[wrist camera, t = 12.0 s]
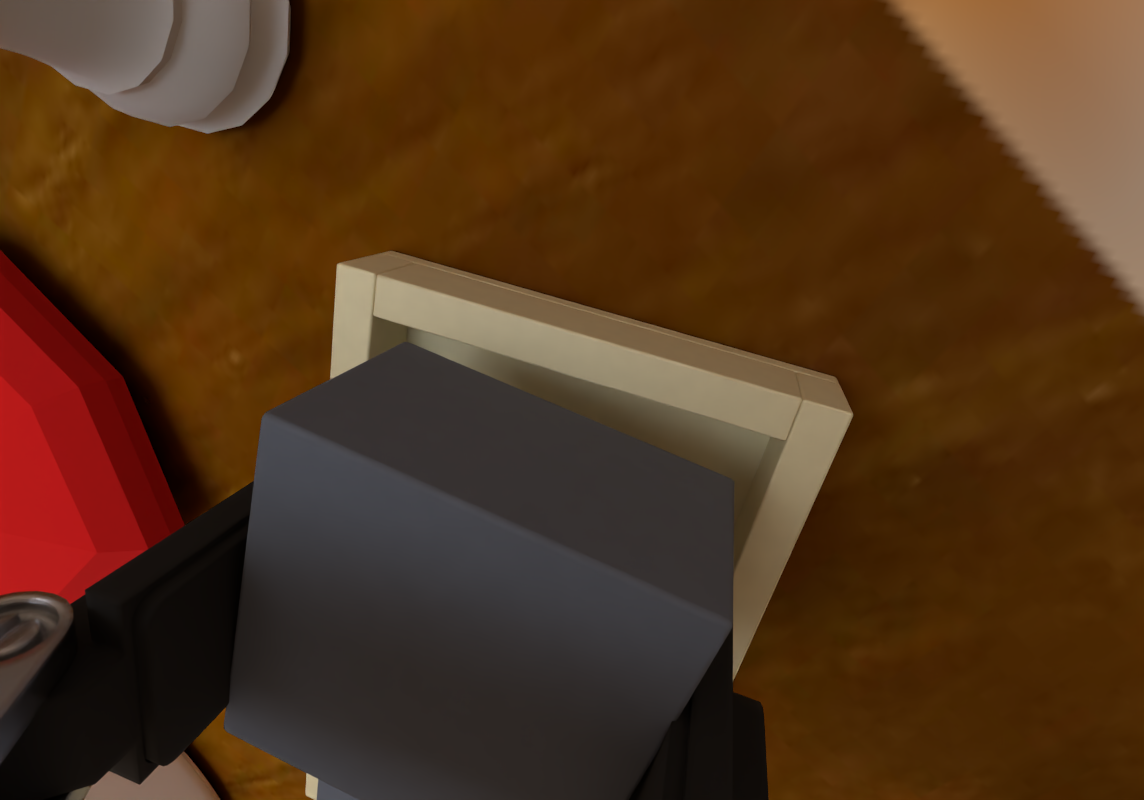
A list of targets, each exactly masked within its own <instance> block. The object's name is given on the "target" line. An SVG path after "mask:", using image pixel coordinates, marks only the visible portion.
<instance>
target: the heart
mask: <svg viewBox="0 0 1144 800" xmlns="http://www.w3.org/2000/svg"><path fill="white" fill-rule="evenodd" d="M183 526H185V525H184V522H183V520H182V517H181V515H180V513H179V510H178V508H177V505H176V503H175V500H174V498H173V496H172V493H171V491H170V488H169V486H168V484H167V481H166V479H165V476H164V474H163V472H162V469H161V467H160V464H159V462H158V460H157V457H156V455H155V452H154V450H153V448H152V445H151V443H150V440H149V438H148V436H147V433H146V431H145V428H144V426H143V424H142V421H141V419H140V416H139V414H138V412H137V409H136V407H135V404H134V402H133V400H132V397H131V395H130V392H129V390H128V388H127V385H126V383H125V380H124V378H123V376H122V375H121V374H120V373H119V372H118V371H117V370H116V369H115V368H114V367H113V366H112V365H111V364H110V363H109V362H108V361H107V360H106V359H105V358H104V357H103V356H102V355H101V354H100V353H99V352H98V350H97V349H96V348H95V347H94V346H93V345H92V344H91V343H90V342H89V341H88V340H87V339H86V338H85V337H84V336H83V335H82V334H81V333H80V332H79V331H78V330H77V329H76V328H75V327H74V326H73V325H72V324H71V323H70V322H69V320H68V319H67V318H66V317H65V316H64V315H63V314H62V313H61V312H60V311H59V310H58V309H57V308H56V307H55V306H54V305H53V304H52V303H51V302H50V301H49V300H48V299H47V298H46V297H45V296H44V295H43V294H42V293H41V292H40V291H39V289H38V288H37V287H36V286H35V285H34V284H33V283H32V282H31V281H30V280H29V279H28V278H27V277H26V276H25V275H24V274H23V273H22V272H21V271H20V270H19V269H18V268H17V267H16V266H15V265H14V264H13V263H12V262H11V261H10V260H9V258H8V257H7V256H6V255H5V254H4V253H3V252H2V251H1V250H0V595H3V594H8V593H13V592H22V591H42V592H48V593H54V594H56V595H58V596H61V597H63V598H65V599H67V601H68V602H69V604H71V603H73V602H74V601H76V600H77V599H79V598H80V597H82V596H83V595H85V589H87V588H89V587H90V586H92V585H93V584H95V583H96V582H98V581H99V580H101V579H103V578H104V577H106V576H107V575H109V574H110V573H112V572H113V571H115V570H116V569H118V568H120V567H121V566H123V565H124V564H126V563H127V562H129V561H130V560H132V559H134V558H135V557H137V556H138V555H140V554H141V553H143V552H144V551H146V550H148V549H149V548H151V547H152V546H154V545H155V544H157V543H158V542H160V541H162V540H163V539H165V538H166V537H168V536H169V535H171V534H172V533H174V532H176V531H177V530H179V529H180V528H182V527H183Z"/></svg>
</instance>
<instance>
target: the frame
mask: <svg viewBox="0 0 1144 800" xmlns="http://www.w3.org/2000/svg"><path fill="white" fill-rule="evenodd" d="M403 342H409V343H412V344H414V345H417V346H419V347H421V348H424V349H426V350H428V351H431V352H433V353H436V354H438V355H440V356H443V357H445V358H447V359H450V360H452V361H454V362H457V363H459V364H462V365H464V366H466V367H469V368H471V369H473V370H476V371H478V372H480V373H483V374H485V375H488V376H490V377H492V378H495V379H497V380H499V381H502V382H504V383H506V384H509V385H511V386H514V387H516V388H518V389H521V390H523V391H525V392H528V393H530V394H532V395H535V396H537V397H540V398H542V399H544V400H547V401H549V402H551V403H554V404H556V405H558V406H561V407H563V408H566V409H568V410H570V411H573V412H575V413H577V414H580V415H582V416H584V417H587V418H589V419H592V420H594V421H596V422H599V423H601V424H603V425H606V426H608V427H611V428H613V429H615V430H618V431H620V432H622V433H625V434H627V435H629V436H632V437H634V438H637V439H639V440H641V441H644V442H646V443H648V444H651V445H653V446H655V447H658V448H660V449H663V450H665V451H667V452H670V453H672V454H674V455H677V456H679V457H681V458H684V459H686V460H689V461H691V462H693V463H696V464H698V465H700V466H703V467H705V468H707V469H710V470H712V471H715V472H717V473H719V474H722V475H724V476H726V477H729V478H731V479H732V480H733V481H734V576H733V680H734V678H735V676H736V674H737V672H738V669H739V667H740V665H741V663H742V661H743V658H744V656H745V654H746V652H747V649H748V647H749V645H750V643H751V641H752V638H753V636H754V634H755V632H756V630H757V627H758V625H759V623H760V621H761V619H762V616H763V614H764V612H765V610H766V607H767V605H768V603H769V601H770V599H771V596H772V594H773V592H774V590H775V588H776V585H777V583H778V581H779V579H780V577H781V574H782V572H783V570H784V568H785V565H786V563H787V561H788V559H789V557H790V554H791V552H792V550H793V548H794V546H795V543H796V541H797V539H798V537H799V534H800V532H801V530H802V528H803V526H804V523H805V521H806V519H807V517H808V515H809V512H810V510H811V508H812V506H813V504H814V501H815V499H816V497H817V495H818V492H819V490H820V488H821V486H822V484H823V481H824V479H825V477H826V475H827V473H828V470H829V468H830V466H831V464H832V461H833V459H834V457H835V455H836V453H837V450H838V448H839V446H840V444H841V442H842V439H843V437H844V435H845V433H846V431H847V428H848V426H849V424H850V422H851V419H852V417H853V412H852V410H851V408H850V406H849V404H848V402H847V399H846V397H845V395H844V393H843V391H842V389H841V386H840V385H839V382H838V380H837V378H836V377H834V376H830V375H827V374H823V373H820V372H816V371H813V370H809V369H806V368H802V367H799V366H795V365H792V364H788V363H785V362H781V361H778V360H774V359H771V358H767V357H764V356H760V355H757V354H753V353H750V352H746V351H743V350H739V349H736V348H732V347H729V346H725V345H721V344H718V343H714V342H711V341H707V340H704V339H700V338H697V337H693V336H690V335H686V334H683V333H679V332H676V331H672V330H669V329H665V328H662V327H658V326H655V325H651V324H648V323H644V322H641V321H637V320H634V319H630V318H627V317H623V316H620V315H616V314H613V313H609V312H606V311H602V310H599V309H595V308H591V307H588V306H584V305H581V304H577V303H574V302H570V301H567V300H563V299H560V298H556V297H553V296H549V295H546V294H542V293H539V292H535V291H532V290H528V289H525V288H521V287H518V286H514V285H511V284H507V283H504V282H500V281H497V280H493V279H490V278H486V277H483V276H479V275H476V274H472V273H468V272H465V271H461V270H458V269H454V268H451V267H447V266H444V265H440V264H437V263H433V262H430V261H426V260H423V259H419V258H416V257H412V256H409V255H405V254H402V253H398V252H395V251H388V252H383V253H380V254H376V255H371V256H367V257H363V258H358V259H354V260H350V261H345V262H341V263H338V264H337V273H336V290H335V306H334V323H333V340H332V357H331V374H330V379H332V378H334V377H336V376H338V375H340V374H342V373H344V372H346V371H348V370H350V369H352V368H354V367H356V366H358V365H360V364H362V363H363V362H365V361H367V360H369V359H371V358H373V357H375V356H377V355H379V354H381V353H383V352H385V351H387V350H389V349H391V348H393V347H395V346H397V345H399V344H401V343H403ZM317 787H318V779H317V778H315V777H313V776H311V775H309V774H308V773H307V776H306V793H305V794H306V796H308V797H310V798H313V799H315V800H317Z"/></svg>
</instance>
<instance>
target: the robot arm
mask: <svg viewBox="0 0 1144 800" xmlns="http://www.w3.org/2000/svg"><path fill="white" fill-rule="evenodd" d="M253 486H254V481H253V482H252V483H250V484H249V485H247V486H245V487H244V488H242V489H241V490H239V491H238V492H236V493H235V494H233V495H231V496H230V497H228V498H227V499H225V500H224V501H222V502H221V503H219V504H217V505H216V506H214V507H213V508H211V509H210V510H208V511H207V512H205V513H203V514H202V515H200V516H199V517H197V518H196V519H194V520H193V521H191V522H189V523H188V524H186V525H185V526H183V527H182V528H180V529H179V530H177V531H176V532H174V533H172V534H171V535H169V536H168V537H166V538H165V539H163V540H162V541H160V542H158V543H157V544H155V545H154V546H152V547H151V548H149V549H148V550H146V551H144V552H143V553H141V554H140V555H138V556H137V557H135V558H134V559H132V560H130V561H129V562H127V563H126V564H124V565H123V566H121V567H120V568H118V569H116V570H115V571H113V572H112V573H110V574H109V575H107V576H106V577H104V578H103V579H101V580H99V581H98V582H96V583H95V584H93V585H92V586H90V587H89V588H87V589H85V595H83V596H82V597H80V598H79V599H77V600H76V601H74V602H73V603H71V604H69V602H68V601H67V599H65V598H63V597H61V596H58V595H56V594H54V593H48V592H42V591H22V592H13V593H8V594H3V595H0V800H84V799H85V797H86V795H87V794H88V792H89V790H90V788H91V786H92V785H94V784H96V783H97V782H98V781H99V780H100V779H101V778H102V777H103V776H104V775H105V774H106V773H107V772H108V771H110V772H112V773H114V774H117V775H119V776H121V777H123V778H126V779H128V780H130V781H132V782H134V783H137V784H139V785H140V784H141V783H142V782H143V781H144V780H145V779H146V778H147V777H148V776H149V775H150V774H151V773H152V772H153V771H154V770H155V769H156V768H157V767H158V766H159V765H161V766H167V765H169V764H170V763H172V762H173V761H174V760H175V759H177V758H178V757H179V756H180V755H181V754H182V752H183V751H184V750H185V749H186V748H187V747H188V746H189V745H190V744H191V743H192V742H193V741H194V740H195V739H196V738H197V737H198V736H199V735H200V733H201V732H202V731H203V730H204V729H205V728H206V727H207V726H208V725H209V724H210V723H211V722H212V721H213V720H214V719H215V718H216V717H217V716H218V715H219V713H220V712H221V711H222V710H223V709H224V708H225V707H226V706H227V705H228V704H229V694H230V673H231V664H232V656H233V648H234V640H235V632H236V624H237V616H238V607H239V599H240V591H241V583H242V575H243V567H244V559H245V551H246V542H247V534H248V526H249V518H250V510H251V502H252V494H253ZM629 800H768V782H767V763H766V745H765V726H764V713H763V707H762V705H761V703H760V702H759V701H756V700H753V699H750V698H748V697H745V696H742V695H739V694H737V693H734V692H733V628H732V629H731V631H730V633H729V634H728V636H727V638H726V639H725V641H724V643H723V644H722V646H721V648H720V649H719V651H718V653H717V654H716V656H715V658H714V659H713V661H712V663H711V664H710V666H709V668H708V669H707V671H706V673H705V674H704V676H703V678H702V679H701V681H700V683H699V684H698V686H697V688H696V689H695V691H694V693H693V694H692V696H691V698H690V699H689V701H688V703H687V704H686V706H685V708H684V709H683V711H682V713H681V714H680V716H679V718H678V719H677V720H676V721H672V722H671V724H670V727H669V729H668V731H667V734H666V736H665V738H664V741H663V743H662V745H661V747H660V749H659V751H658V752H657V754H656V756H655V758H654V759H653V761H652V763H651V764H650V766H649V768H648V769H647V771H646V773H645V774H644V776H643V778H642V779H641V781H640V783H639V784H638V786H637V788H636V789H635V791H634V793H633V794H632V796H631V798H630V799H629Z"/></svg>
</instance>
